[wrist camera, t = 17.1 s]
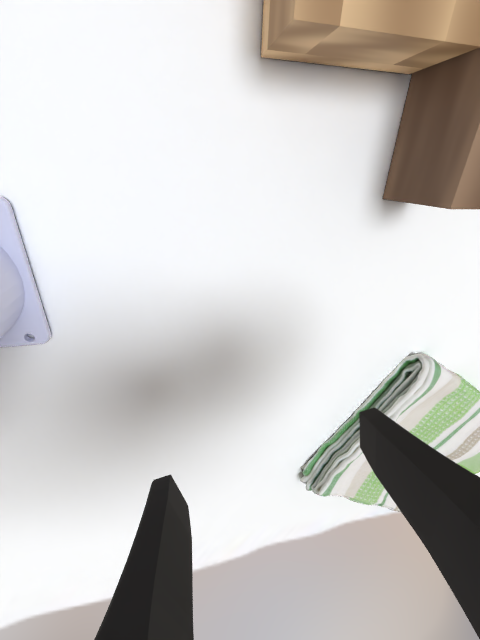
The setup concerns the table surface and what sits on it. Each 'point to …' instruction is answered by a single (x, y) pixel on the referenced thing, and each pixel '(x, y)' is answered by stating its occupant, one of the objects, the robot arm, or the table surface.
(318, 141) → the table surface
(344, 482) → the dish towel
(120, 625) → the robot arm
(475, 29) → the block
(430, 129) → the wooden plank
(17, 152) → the table surface
